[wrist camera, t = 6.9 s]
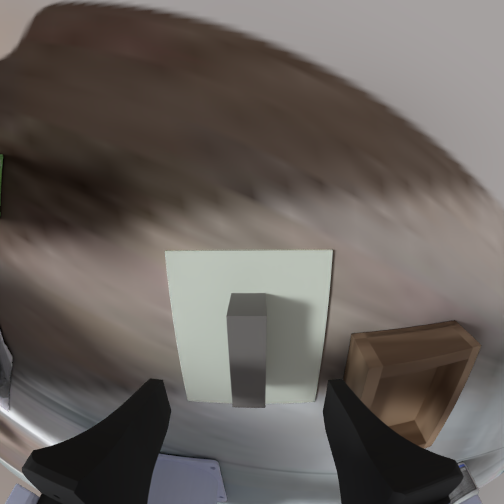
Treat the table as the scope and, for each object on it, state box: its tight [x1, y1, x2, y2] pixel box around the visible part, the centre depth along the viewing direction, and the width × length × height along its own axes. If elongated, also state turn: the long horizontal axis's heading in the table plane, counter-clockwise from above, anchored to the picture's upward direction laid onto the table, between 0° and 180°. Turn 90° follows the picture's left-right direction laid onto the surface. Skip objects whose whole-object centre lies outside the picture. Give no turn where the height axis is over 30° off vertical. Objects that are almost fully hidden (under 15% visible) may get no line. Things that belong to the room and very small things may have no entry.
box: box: [343, 320, 481, 448], centre depth 16 cm, size 10×8×3 cm
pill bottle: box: [449, 462, 482, 504], centre depth 19 cm, size 5×5×8 cm
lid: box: [165, 249, 333, 408], centre depth 15 cm, size 11×9×3 cm
